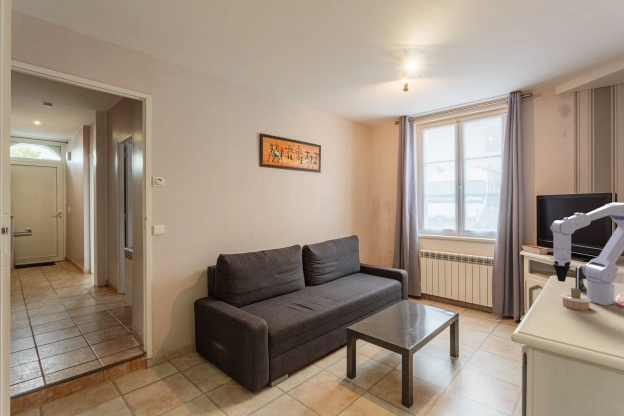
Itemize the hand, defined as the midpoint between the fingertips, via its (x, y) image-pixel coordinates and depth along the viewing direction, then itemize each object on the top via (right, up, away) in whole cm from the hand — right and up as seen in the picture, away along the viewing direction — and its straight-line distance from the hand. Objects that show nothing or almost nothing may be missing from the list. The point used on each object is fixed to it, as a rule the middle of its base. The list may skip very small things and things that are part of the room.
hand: (561, 279), depth 127 cm
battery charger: (+23, -9, +15) cm, 29 cm away
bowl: (+1, -10, -6) cm, 11 cm away
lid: (+1, -7, -6) cm, 9 cm away
